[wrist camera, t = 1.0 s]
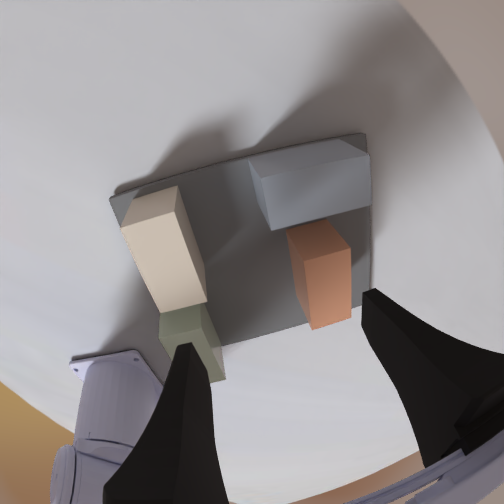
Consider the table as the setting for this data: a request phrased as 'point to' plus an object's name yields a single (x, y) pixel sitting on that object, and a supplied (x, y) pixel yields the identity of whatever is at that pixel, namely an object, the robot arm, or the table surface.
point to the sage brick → (193, 337)
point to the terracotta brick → (321, 272)
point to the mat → (251, 247)
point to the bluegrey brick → (311, 182)
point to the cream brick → (165, 249)
